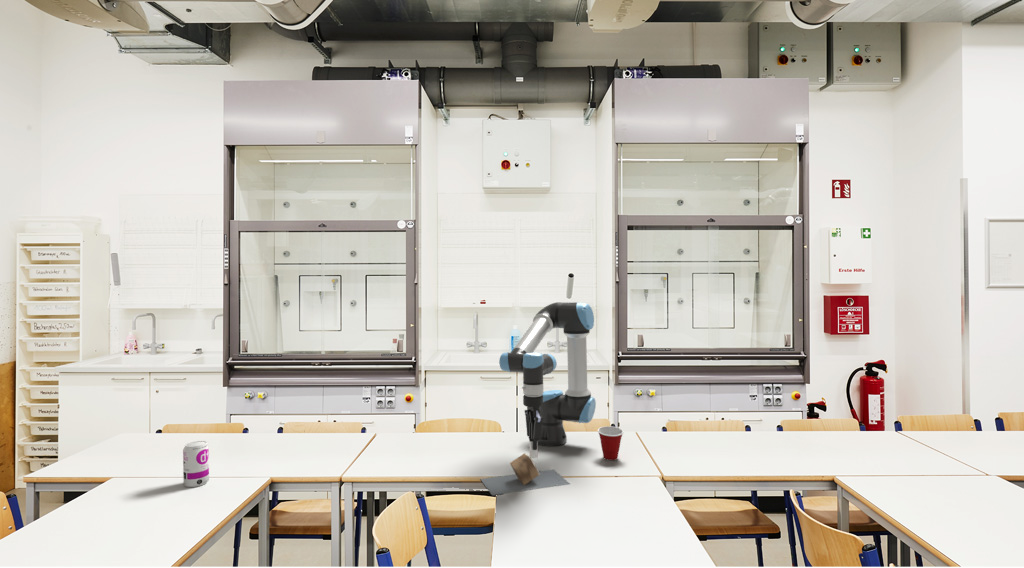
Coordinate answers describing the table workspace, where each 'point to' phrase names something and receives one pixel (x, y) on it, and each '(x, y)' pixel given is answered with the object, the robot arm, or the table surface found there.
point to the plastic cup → (610, 441)
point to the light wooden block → (524, 468)
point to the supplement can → (196, 464)
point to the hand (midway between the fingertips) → (533, 457)
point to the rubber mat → (514, 484)
